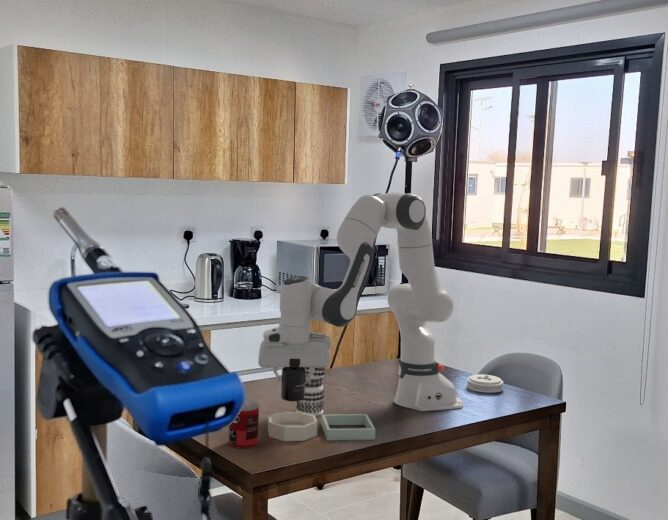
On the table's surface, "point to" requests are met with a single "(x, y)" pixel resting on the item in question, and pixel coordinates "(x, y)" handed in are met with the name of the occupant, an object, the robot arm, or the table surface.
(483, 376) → the lid
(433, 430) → the table surface
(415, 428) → the table surface
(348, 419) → the tray
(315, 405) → the decorative candle
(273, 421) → the bowl
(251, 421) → the canned food
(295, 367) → the supplement bottle
